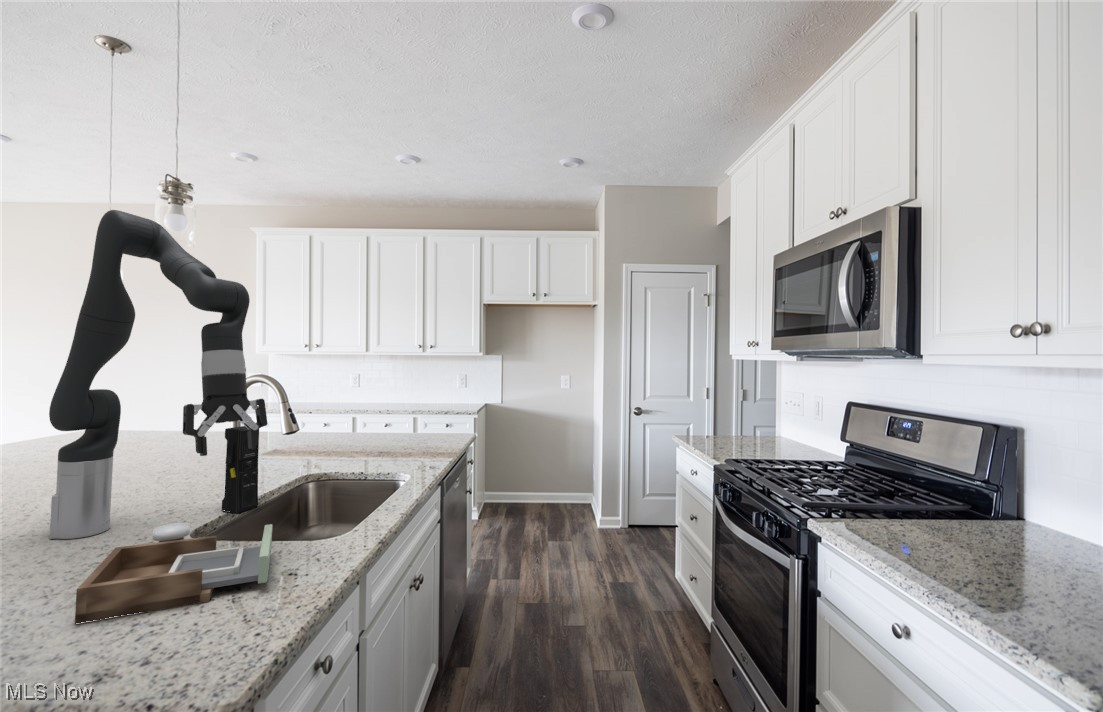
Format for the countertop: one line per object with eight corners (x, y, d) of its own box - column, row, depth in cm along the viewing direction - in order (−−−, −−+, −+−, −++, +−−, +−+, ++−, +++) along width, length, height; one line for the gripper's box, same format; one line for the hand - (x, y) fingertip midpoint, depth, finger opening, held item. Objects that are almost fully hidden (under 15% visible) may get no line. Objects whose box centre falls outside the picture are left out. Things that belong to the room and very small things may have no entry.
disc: (149, 542, 92) (149, 534, 92) (156, 532, 98) (157, 525, 98) (186, 538, 95) (187, 530, 95) (192, 528, 101) (192, 521, 101)
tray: (154, 601, 77) (156, 571, 77) (178, 559, 93) (179, 534, 93) (267, 582, 85) (268, 555, 85) (271, 547, 101) (272, 524, 101)
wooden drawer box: (74, 624, 73) (76, 589, 73) (114, 576, 88) (115, 547, 89) (209, 601, 81) (210, 569, 81) (223, 561, 97) (224, 534, 97)
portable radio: (236, 515, 124) (240, 421, 125) (217, 513, 126) (221, 419, 126) (260, 506, 132) (264, 417, 133) (241, 504, 133) (245, 416, 134)
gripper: (255, 374, 105) (260, 446, 104) (176, 376, 94) (180, 458, 93) (268, 370, 101) (273, 446, 99) (187, 373, 90) (191, 458, 88)
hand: (228, 451), depth 96 cm, fingers open, 8 cm apart
